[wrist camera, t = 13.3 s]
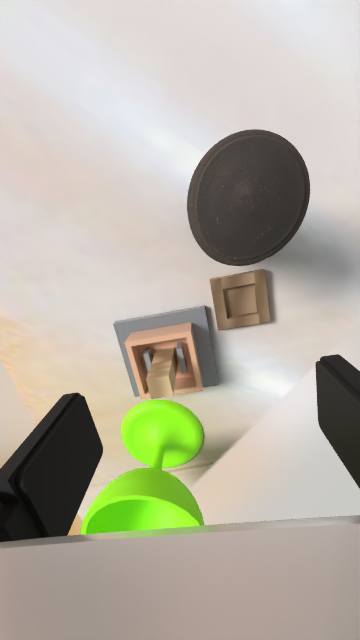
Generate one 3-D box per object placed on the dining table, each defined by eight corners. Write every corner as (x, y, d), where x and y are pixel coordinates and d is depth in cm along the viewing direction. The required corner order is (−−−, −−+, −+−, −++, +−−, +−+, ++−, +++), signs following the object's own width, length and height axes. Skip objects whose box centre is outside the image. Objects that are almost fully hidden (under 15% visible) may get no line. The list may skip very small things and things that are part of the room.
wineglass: (116, 457, 51) (76, 568, 34) (126, 391, 46) (85, 483, 29) (193, 473, 51) (192, 591, 34) (211, 409, 46) (221, 510, 29)
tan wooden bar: (174, 346, 40) (168, 376, 32) (177, 363, 41) (173, 395, 33) (156, 349, 41) (145, 379, 32) (160, 365, 42) (151, 398, 33)
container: (265, 217, 35) (346, 194, 16) (219, 264, 38) (243, 291, 19) (223, 170, 34) (257, 85, 15) (177, 222, 36) (158, 205, 17)
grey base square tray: (204, 305, 40) (205, 315, 35) (218, 381, 44) (220, 399, 39) (115, 321, 42) (104, 332, 37) (136, 392, 46) (129, 411, 41)
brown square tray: (262, 269, 37) (265, 270, 36) (267, 318, 40) (270, 321, 38) (209, 279, 38) (210, 280, 37) (217, 327, 41) (218, 330, 39)
